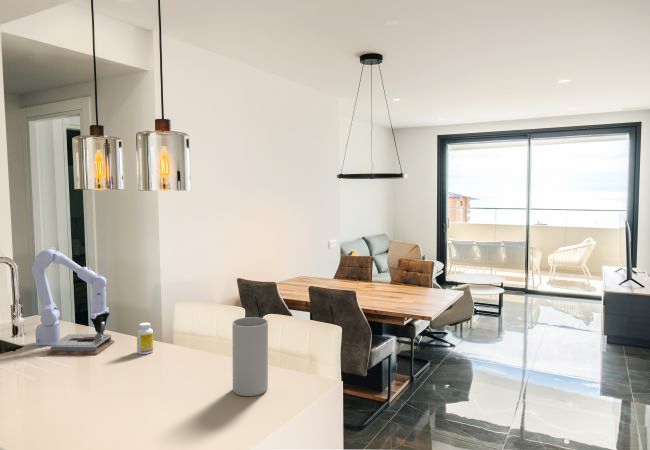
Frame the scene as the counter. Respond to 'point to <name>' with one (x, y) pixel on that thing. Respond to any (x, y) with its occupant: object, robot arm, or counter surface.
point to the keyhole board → (100, 348)
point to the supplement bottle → (144, 339)
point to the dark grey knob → (102, 328)
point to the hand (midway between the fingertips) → (100, 329)
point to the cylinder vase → (250, 356)
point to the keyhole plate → (80, 343)
